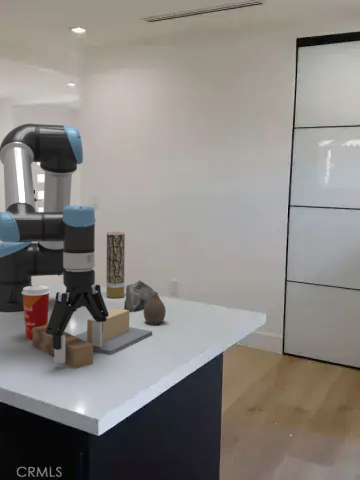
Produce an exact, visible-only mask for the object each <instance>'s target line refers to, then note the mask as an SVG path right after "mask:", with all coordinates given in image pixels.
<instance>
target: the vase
mask: <svg viewBox="0 0 360 480" xmlns="http://www.w3.org/2000/svg"><path fill="white" fill-rule="evenodd" d="M143 317H144V319H145V321H146V322H147V323H148V324H149V325H160V324H162V322H163V321H164V320H165V318H166V306H165V303H164V302H163V301H162V300H161V299H160V296H159V295H151V297H150V299H149V300H148V301H147V303H146V304H145V307H144V308H143Z"/></svg>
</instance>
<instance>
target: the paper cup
mask: <svg viewBox="0 0 360 480" xmlns="http://www.w3.org/2000/svg"><path fill="white" fill-rule="evenodd" d="M50 293H51V291H50V287H49V286H46V285H32V286H27V287H24V288H23V291H22V294H23V304H24V310H23V314H24V315H23V316H24V318H23V319H24V326H25V327H24V328H25V338H26V339H28V340H33V328H34V327H40V326H45V325H48V323H49V301H50V298H49V297H50Z"/></svg>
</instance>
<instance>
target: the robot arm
mask: <svg viewBox="0 0 360 480" xmlns="http://www.w3.org/2000/svg"><path fill="white" fill-rule="evenodd" d="M83 153H84V151H83V142H82V136H81V134H80V131H79V129H78V128H77V127H75V126H71V125H70V126H69V125H64V124H63V125H62V124H61V125H59V124H41V123H40V124H39V123H38V124H37V123H25V124H20V125H18V126H16V127H14V128H13V129H12V130H10V131H9V132H8V133H7V134H6V135H5V136H4V138H3V139H2V141H1V143H0V162H1V164H2V165H3V181H4V182H3V183H4V208H5V211H2V212H0V312H21V311H24V304H23V294H22V291H23V288H24V287H27V286H33V285H32V277H38V276H39V277H40V276H42V277H43V276H58V277H59V276H63V277H62V278H63V279H62V280H63V281H62V282H63V285H64V287H65V288H66V289H65V292H59V291H58V292H56V294H55V302H54V305H53V307H52V311H51V314H50V316H49V319H48V323H47V325H48V326H47V329H46V334H50V335H52V336H53V348H54V357H53V359H54V362H56V363H61V364H65V335H62V334H63V332H65V331H66V329H67V327H68V324H69V323H70V320H71V318H72V316H73V315H74V313H75V312H76V311H77V310H78V309H81V308H82V307H85V309H86V310H87V311H88V313H89V314H90V315H91V318H94V320H96V321H92V345H93V346H96V347H102V332H103V321H104V322H105V321H106V320H107V318H106V317H108V315H109V314H108V312H109V310H108V309H107V306H106V303H105V301H104V298H103V295H102V290H101V289H102V288H101V285H100V284H95V283H96V273H95V270H94V269H93V268H95V264H96V263H95V245H96V244H95V241H96V238H95V234H96V233H95V230H96V229H95V228H96V226H95V225H96V224H95V223H96V217H95V208H94V207H93V206H92V205H71V193H72V192H71V191H72V174H73V173H75V172H76V171H78V165H81V164H83V161H84V154H83ZM33 163H39V168H40V169H41V170H42V171H43V172H44V186H43V189H44V190H43V192H44V193H43V211H41V212H40V211H37V209H36V201H35V191H34V181H33V171H32V164H33ZM58 329H59V331H58Z"/></svg>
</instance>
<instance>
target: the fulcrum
mask: <svg viewBox="0 0 360 480" xmlns="http://www.w3.org/2000/svg"><path fill="white" fill-rule="evenodd" d="M108 314H109V315H108V317H106V318H107V320H106V321H105V322H104V321H103V332H102V347H96V346H93V352H98V353H100V354H105V355H110V356H111V355H113V354H115V353H117V352H119V351H121V350H124V349H125V348H127V347H130V346H132V345H133V344H136V343H138V342H140V341H142V340H144V339H147V338H148V337H150V336H152V335H153V331H151V330H148V329H147V330H146V329H142V328H141V329H140V328H136V327H131V326H130V311H129V310H127V309H125V308H124V309H123V308H116V309H113V310H110V311H108ZM86 320H87V321H86V323H87V325H86V327H87V328H86V331H84V332H80V333H78V334H75V335H74V336H75V337H77V338H79V339H81V340H83V341H86V342H88V343H90V344H92V321H96V320H94V318H93V317H90V318H87V319H86Z"/></svg>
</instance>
